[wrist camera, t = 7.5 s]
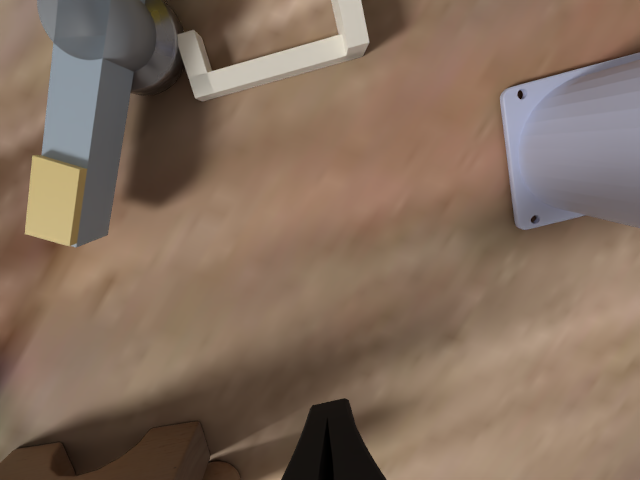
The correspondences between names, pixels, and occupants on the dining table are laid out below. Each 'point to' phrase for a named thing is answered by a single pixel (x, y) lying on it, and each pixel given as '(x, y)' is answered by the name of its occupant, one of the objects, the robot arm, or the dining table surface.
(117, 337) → the dining table surface
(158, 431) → the wooden toy
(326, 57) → the cream l-shaped bracket
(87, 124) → the lever
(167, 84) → the base
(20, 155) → the dining table surface
